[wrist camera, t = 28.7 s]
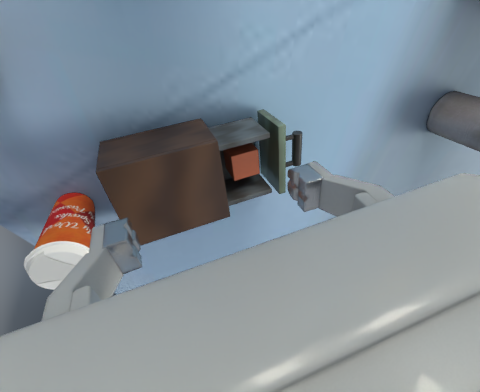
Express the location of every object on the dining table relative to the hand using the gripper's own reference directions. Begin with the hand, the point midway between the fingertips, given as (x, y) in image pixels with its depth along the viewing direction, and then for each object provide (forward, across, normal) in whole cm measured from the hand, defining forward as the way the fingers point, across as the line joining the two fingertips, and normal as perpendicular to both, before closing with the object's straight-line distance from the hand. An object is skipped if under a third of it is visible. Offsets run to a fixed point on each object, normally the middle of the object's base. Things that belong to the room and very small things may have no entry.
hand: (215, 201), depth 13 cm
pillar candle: (+32, -62, +20) cm, 72 cm away
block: (+29, -10, +15) cm, 34 cm away
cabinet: (+31, +3, +15) cm, 35 cm away
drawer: (+30, -11, +15) cm, 35 cm away
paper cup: (+31, +18, +18) cm, 40 cm away
